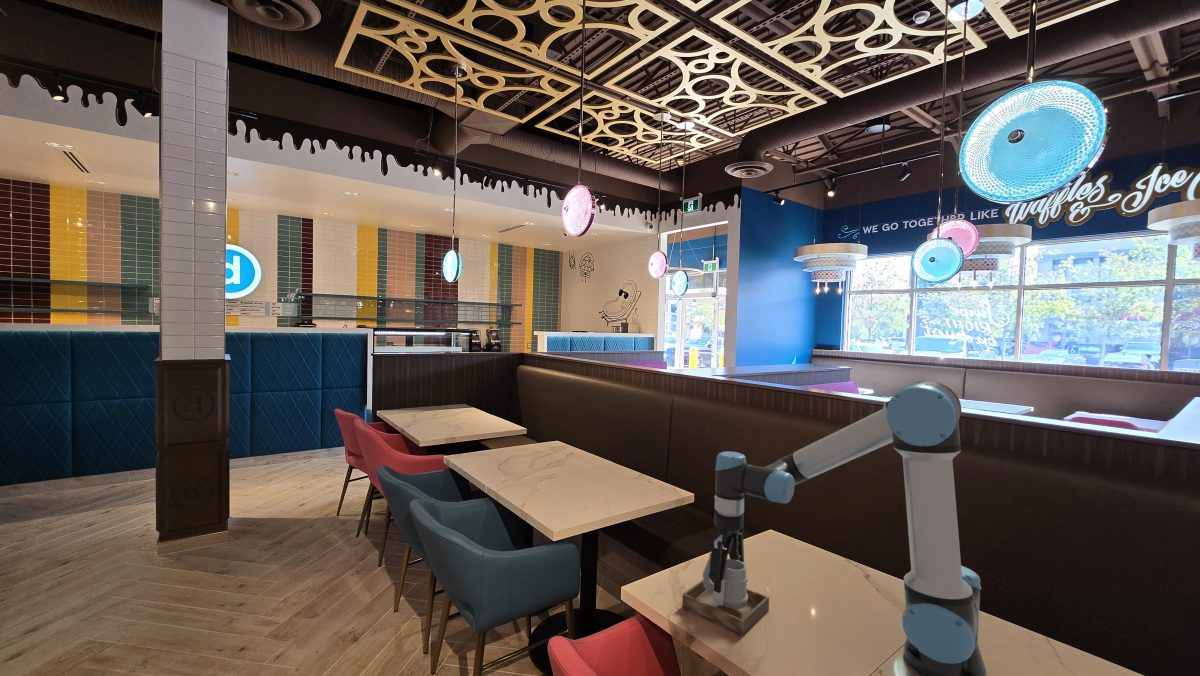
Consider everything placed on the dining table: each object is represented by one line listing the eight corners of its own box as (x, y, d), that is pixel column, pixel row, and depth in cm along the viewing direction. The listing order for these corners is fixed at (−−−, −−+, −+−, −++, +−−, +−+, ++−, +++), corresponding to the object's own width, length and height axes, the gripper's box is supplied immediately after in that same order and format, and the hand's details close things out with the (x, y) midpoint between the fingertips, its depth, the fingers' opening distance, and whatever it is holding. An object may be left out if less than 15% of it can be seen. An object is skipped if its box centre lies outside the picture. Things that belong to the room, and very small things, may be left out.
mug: (747, 612, 124) (748, 565, 124) (700, 602, 128) (701, 557, 127) (748, 597, 131) (749, 553, 131) (703, 588, 135) (705, 545, 135)
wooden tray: (768, 611, 130) (769, 597, 130) (742, 637, 119) (743, 621, 118) (710, 586, 141) (711, 573, 141) (682, 608, 130) (682, 594, 130)
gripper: (733, 498, 139) (731, 577, 140) (696, 517, 124) (693, 606, 125) (759, 505, 134) (756, 587, 135) (723, 526, 119) (720, 619, 120)
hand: (726, 596), depth 130 cm, fingers closed on mug, 7 cm apart
